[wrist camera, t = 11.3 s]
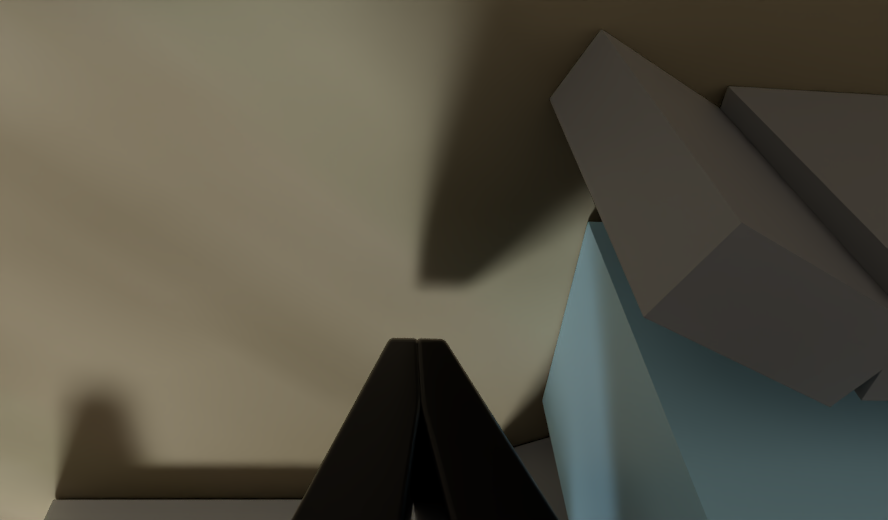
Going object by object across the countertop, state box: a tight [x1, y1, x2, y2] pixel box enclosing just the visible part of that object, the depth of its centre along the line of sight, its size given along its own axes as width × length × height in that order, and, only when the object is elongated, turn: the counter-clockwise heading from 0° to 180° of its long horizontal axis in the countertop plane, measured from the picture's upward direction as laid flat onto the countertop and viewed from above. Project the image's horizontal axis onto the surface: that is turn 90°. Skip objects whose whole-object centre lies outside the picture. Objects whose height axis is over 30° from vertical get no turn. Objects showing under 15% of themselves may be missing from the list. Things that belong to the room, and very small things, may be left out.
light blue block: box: [542, 222, 888, 520], centre depth 8 cm, size 6×4×6 cm, turn 85°
